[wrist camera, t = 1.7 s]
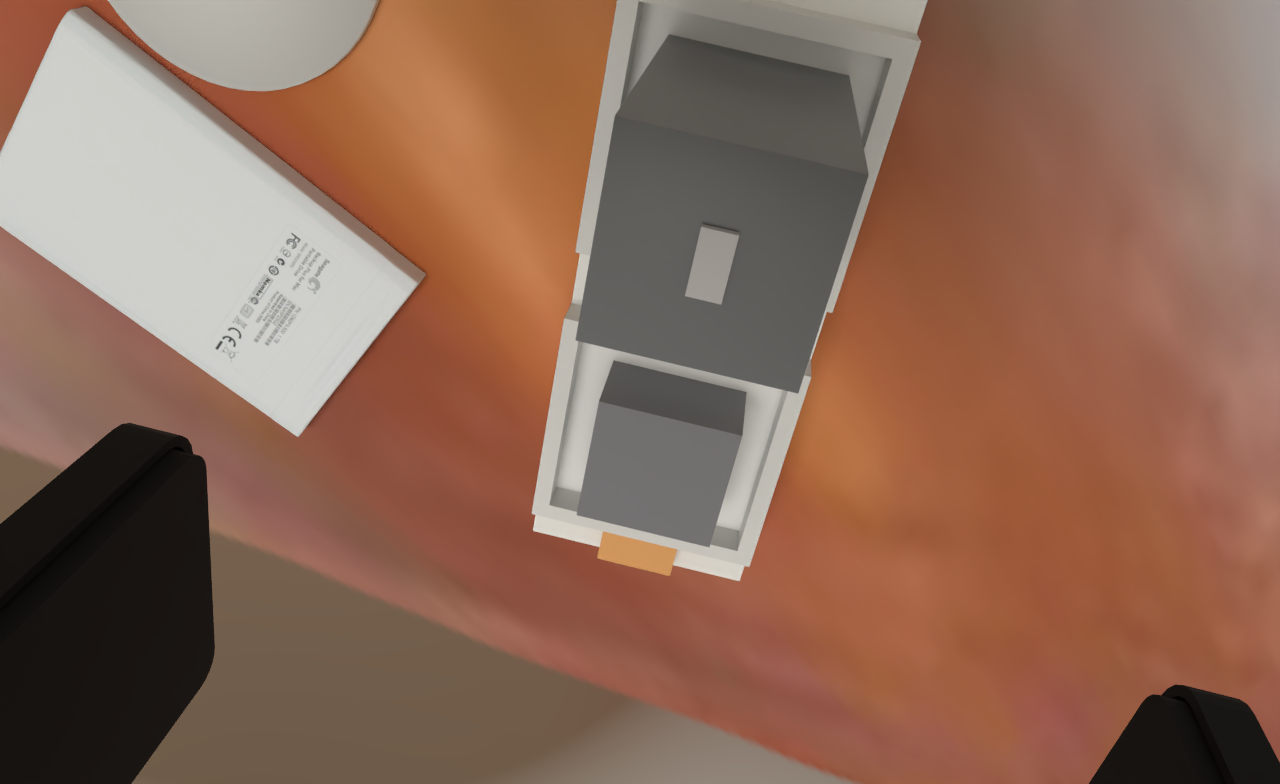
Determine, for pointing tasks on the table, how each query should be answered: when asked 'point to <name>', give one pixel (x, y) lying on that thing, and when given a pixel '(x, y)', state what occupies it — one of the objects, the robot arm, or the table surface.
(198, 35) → the coaster
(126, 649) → the robot arm
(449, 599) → the table surface
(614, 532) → the power strip
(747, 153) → the charger
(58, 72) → the external hard drive
